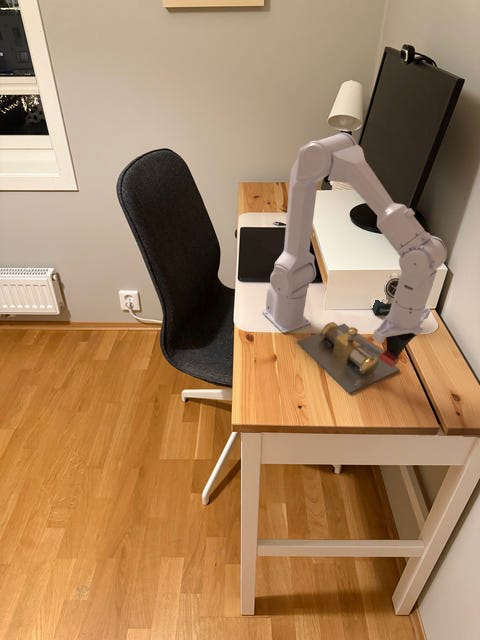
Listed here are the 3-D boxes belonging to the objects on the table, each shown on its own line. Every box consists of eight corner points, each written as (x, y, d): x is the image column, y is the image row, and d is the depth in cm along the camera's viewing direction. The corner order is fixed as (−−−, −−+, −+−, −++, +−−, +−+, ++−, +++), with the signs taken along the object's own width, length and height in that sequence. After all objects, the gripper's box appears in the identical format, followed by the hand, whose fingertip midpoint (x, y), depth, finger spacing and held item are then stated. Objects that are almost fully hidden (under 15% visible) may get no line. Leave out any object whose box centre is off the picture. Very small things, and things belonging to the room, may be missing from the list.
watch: (377, 320, 111) (387, 282, 104) (368, 301, 118) (377, 264, 111) (399, 320, 112) (411, 282, 105) (389, 301, 118) (400, 265, 111)
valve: (296, 342, 103) (299, 326, 100) (344, 325, 109) (347, 309, 106) (349, 394, 91) (354, 377, 88) (399, 371, 97) (405, 354, 94)
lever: (344, 338, 97) (346, 329, 96) (350, 335, 98) (352, 326, 97) (390, 369, 90) (393, 360, 88) (396, 365, 91) (399, 356, 89)
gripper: (402, 325, 78) (384, 381, 86) (451, 299, 85) (430, 353, 93) (370, 305, 82) (356, 360, 90) (419, 282, 89) (402, 335, 97)
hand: (391, 355), depth 92 cm, fingers closed
